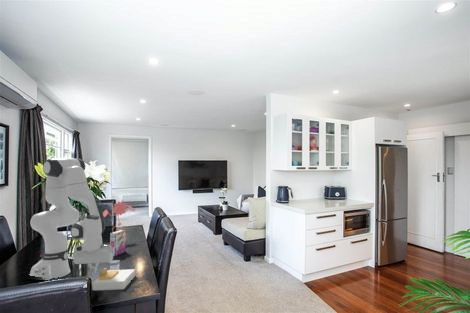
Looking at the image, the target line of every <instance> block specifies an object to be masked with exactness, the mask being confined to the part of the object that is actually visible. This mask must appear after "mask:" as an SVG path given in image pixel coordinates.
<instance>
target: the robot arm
mask: <svg viewBox="0 0 470 313" xmlns="http://www.w3.org/2000/svg"><path fill="white" fill-rule="evenodd" d="M85 169H86V163H85V161H84V160H83V159H81V158H73V157H59V158H56V157H55V158H54V157H52V158H48V159H46V160H45V161H44V163H43V166H42V170H43V173H44V174H45V175H46V181H45V193H44V194H45V201H46V202H47V203H48V204H50V205H54V207H55V209H53V210H47V211H46V210H45V211H41V212H39V213H35V214H34V215H32V216H31V219H30V223H29V224H30V227H31V228H32V230H34V231H36V232H38V233H39V234H40V235H41V236H42V238H43V240H44V249H45V250H44V253H42V254H41V255H40V257H42V258H41V259H40V260H38V262H37V263H36V264H34V265H32V267H31V270H30V272H29V275H30V276H35V277H42V278H43V279H44V278H46V279H45V280H48V281H50V280H49V279H52V278H55V279H59V278H62V277H65V276H67V275H68V274H70V273H71V269H70V265H69V260H68V259H69V249H68V237H67V235H66V234H64V233H61V232H59V231H58V228H59V229H60V228H64V227H69V226H71V228H70V235H71V237H72V238H73V239H75V240H82V239H83V242H82V243H81V244H79V245H76V246H75V247H74V252H73V256H72V257H73V258H72V262H73V264H74V265H83V264H84V265H85V264H87V266H88V268H89V271H90V272H97V271H98V267H99V264H103V263H104V264H105V263H110V262H111V261H112V260H113V259H114V256H113V253H112V246H111V245H110V244H103V237H102V234H103V233H104V232H105V229H106V223H105V219H103V218H104V217H102V216H103V215H102V213H101V210H100V206H99V203H98V200H97V197H96V196H95V193H94V192H92V191H91V190H90V188H89V186H88V180H87V174H86V172H85ZM69 199H71V200H72V201H77V202H80V203H83V204H85V206H87V210H88V212H89V215H87V216H84V218H83V219H82V220H79V219H80V212H79V210H78V209H77V208H75V207H74V206H73V205H72V204H71V203H70V201H69ZM93 264H94V266H93ZM58 277H59V278H58ZM52 280H53V279H52ZM48 281H47V282H48Z"/></svg>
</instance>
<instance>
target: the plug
mask: <svg viewBox="0 0 470 313" xmlns="http://www.w3.org/2000/svg"><path fill="white" fill-rule="evenodd" d="M120 263H121V259H117V260H116V259H115V260H112V261H110V262H108V266H109V270H120Z"/></svg>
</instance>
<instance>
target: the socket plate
mask: <svg viewBox="0 0 470 313" xmlns="http://www.w3.org/2000/svg"><path fill="white" fill-rule="evenodd" d="M107 271H119V272H118V273H117V274H116V275H115V276H114V277H113V278H112V279H98V278H97V279H95V280H93V282H92V291H112V290H113V291H115V290H125V289H126V288H127V286H128V285H129V284H130V283H131V280H132V281H133V280H134V278H135V277H136V269H135V268H134V269H133V268H131V269H130V268H129V269H119V270H110V269H107Z"/></svg>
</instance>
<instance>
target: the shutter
mask: <svg viewBox="0 0 470 313" xmlns="http://www.w3.org/2000/svg"><path fill="white" fill-rule="evenodd" d="M107 270H108V267H104V268H103V269H101V271H99V276H98V277H97V279H112V278H113V277H114V276H115V275H116V274H117V273H118V272H119V271H107Z"/></svg>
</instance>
